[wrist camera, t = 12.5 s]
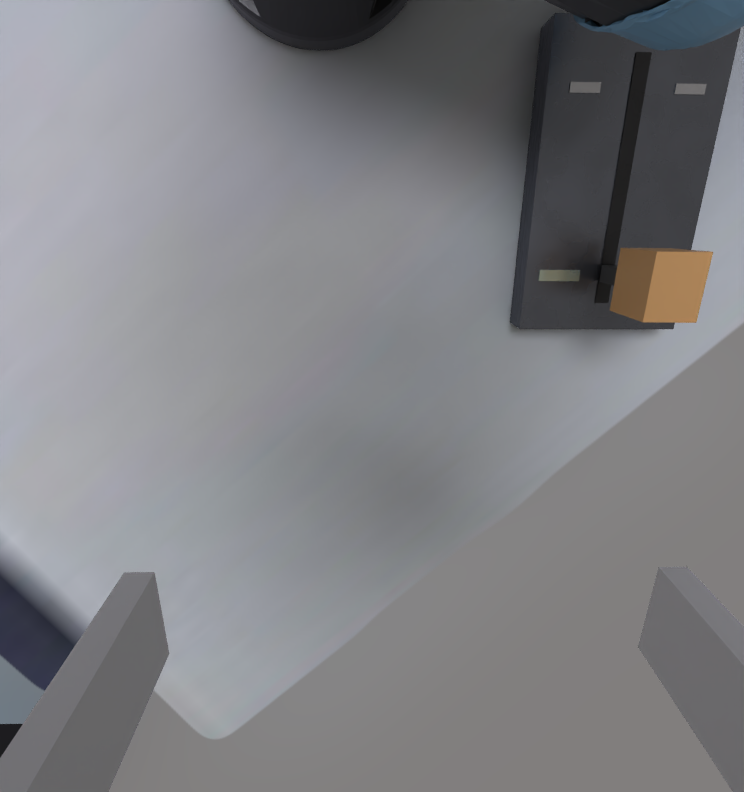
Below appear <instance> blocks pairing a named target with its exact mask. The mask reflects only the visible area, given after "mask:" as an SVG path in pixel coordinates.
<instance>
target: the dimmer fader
mask: <svg viewBox="0 0 744 792" xmlns="http://www.w3.org/2000/svg"><path fill="white" fill-rule="evenodd" d="M712 255H713V252H708V251H696V250H685V249H674V248H621V249H620V255H619V260H618V265H602V268H601V274H600V280H599V282H602V283H606V284H610V285H614V289H613V294H612V300H611V306H610V311H612V312H615V313H618V314H621V315H624V316H626V317H629V318H632V319H635V320H638V321H640V322H678V323H696V321H697V317H698V313H699V309H700V305H701V300H702V296H703V292H704V288H705V284H706V280H707V275H708V271H709V267H710V263H711V259H712Z"/></svg>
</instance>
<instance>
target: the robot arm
mask: <svg viewBox="0 0 744 792" xmlns="http://www.w3.org/2000/svg"><path fill="white" fill-rule="evenodd" d="M229 1H230V2H231V4H232V5H233V6H234V7H235V8H236V9H237V11H238V12H239V13H240V14H241V15H242V16H243V17H244V18H245V19H246V20H247V21H249V22H250V23H251V24H252V25H253V26H255V27H256V28H257V29H259V30H260V31H261V32H263V33H265V34H266V35H268V36H269V37H271V38H273V39H275V40H277V41H279V42H282V43H284V44H287V45H290V46H293V47H297V48H301V49H307V50H318V51H320V50H334V49H340V48H344V47H347V46H351V45H354V44H356V43H359V42H361V41H363V40H365V39H367V38H369V37H370V36H372V35H373V34H375V33H376V32H378V31H379V30H381V29H382V28H383V27H384V26H385V25H387V24H388V23H389V22H390V21H391V20H392V19H393V18H394V17H395V16H396V15H397V14H398V12H399V11H400V10H401V9H402V8H403V6H404V5H405V4H406V2H407V1H408V0H229ZM545 1H547V2H549V3H551V4H553V5H555V6H557V7H559V8H561V9H563V10H565V11H567V12H570V13H572V14H573V16H574V20H575V21H576V22H577V23H578V24H580V25H581V26H583V27H585V28H587V29H589V30H591V31H597V32H600V31H601V32H608V33H611V32H612V33H614V34H617V35H619V36H622V37H624V38H626V39H629V40H631V41H634V42H636V43H638V44H641V45H643V46H646V47H648V48H651V49H655V50H663V51H665V50H671V49H687V48H690V47H698V46H701V45H704V44H706V43H709V42H712V41H714V40H717V39H719V38H721V37H723V36H725V35H728V34H730V33H732V32H734V31H735V30H737V29H739V28H741V27H742V26H744V0H545ZM638 648H639V649H640V651H641V652H642V654H643V655H644V657H645V658H646V660H647V661H648V663H649V664H650V666H651V667H652V669H653V670H654V672H655V674H656V675H657V677H658V678H659V680H660V681H661V683H662V684H663V686H664V687H665V689H666V690H667V692H668V693H669V695H670V696H671V698H672V699H673V701H674V703H675V704H676V705H677V707H678V709H679V710H680V712H681V713H682V715H683V716H684V718H685V719H686V721H687V722H688V724H689V726H690V727H691V729H692V730H693V732H694V733H695V735H696V736H697V738H698V739H699V741H700V742H701V744H702V745H703V747H704V748H705V750H706V751H707V753H708V754H709V756H710V758H711V759H712V761H713V762H714V764H715V765H716V767H717V768H718V770H719V771H720V773H721V775H722V776H723V778H724V779H725V781H726V782H727V784H728V785H729V787H730V788H731V790H732V791H733V792H744V626H743V625H742V624H741V623H740V622H739V621H738V620H737V619H736V618H735V617H734V616H733V615H732V614H731V612H730V611H729V610H728V609H727V608H726V607H725V606H724V605H723V604H722V603H721V602H720V601H719V600H718V599H717V598H716V597H715V596H714V595H713V593H712V592H711V591H710V590H709V589H708V588H707V587H706V586H705V585H704V584H703V583H702V582H701V581H700V580H699V579H698V578H697V577H696V576H695V574H693V572H692V571H691V570H690V569H689V568H688V567H658V571H657V575H656V579H655V583H654V587H653V591H652V594H651V598H650V602H649V606H648V610H647V614H646V618H645V622H644V626H643V630H642V633H641V638H640V641H639V645H638ZM168 655H169V650H168V644H167V639H166V633H165V628H164V622H163V617H162V611H161V605H160V600H159V594H158V589H157V583H156V578H155V572H130V573H124V574H123V575H122V577H121V578H120V580H119V581H118V583H117V584H116V586H115V587H114V589H113V590H112V592H111V593H110V595H109V596H108V598H107V599H106V601H105V602H104V604H103V605H102V607H101V608H100V610H99V611H98V613H97V614H96V616H95V617H94V619H93V620H92V622H91V623H90V625H89V626H88V628H87V629H86V631H85V632H84V634H83V635H82V636H81V638H80V639H79V641H78V642H77V644H76V645H75V647H74V648H73V650H72V651H71V653H70V654H69V656H68V657H67V659H66V660H65V662H64V663H63V665H62V666H61V668H60V669H59V671H58V672H57V674H56V675H55V677H54V678H53V680H52V681H51V683H50V684H49V686H48V687H47V689H46V690H45V692H44V693H43V695H42V696H41V698H40V699H39V701H38V702H37V704H36V705H35V707H34V708H33V710H32V711H31V713H30V714H29V716H28V717H27V719H26V720H25V722H24V723H23V724H0V792H108V791H109V789H110V787H111V784H112V782H113V780H114V778H115V776H116V773H117V771H118V769H119V766H120V764H121V762H122V760H123V757H124V755H125V753H126V751H127V748H128V746H129V744H130V741H131V739H132V737H133V735H134V732H135V730H136V728H137V726H138V723H139V721H140V719H141V717H142V714H143V712H144V710H145V707H146V705H147V703H148V701H149V698H150V696H151V694H152V692H153V689H154V687H155V685H156V682H157V680H158V678H159V676H160V673H161V671H162V669H163V667H164V664H165V662H166V660H167V657H168Z"/></svg>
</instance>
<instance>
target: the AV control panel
mask: <svg viewBox="0 0 744 792" xmlns="http://www.w3.org/2000/svg"><path fill="white" fill-rule="evenodd" d="M740 29H741V28H739V29H737V30H735V31H734V32H732V33H730V34H728V35H725V36H723V37H721V38H719V39H717V40H714V41H712V42H709V43H706V44H704V45H701V46H698V47H690V48H687V49H671V50H665V51H663V50H655V49H651V48H648V47H646V46H643V45H641V44H638V43H636V42H634V41H631V40H629V39H626V38H624V37H622V36H619V35H617V34H614V33H612V32H611V33H608V32H601V31H600V32H597V31H591V30H589V29H587V28H585V27H583V26H581V25H580V24H578V23H577V22H576V21H575V20H574V16H573V14H572V13H555V14H554V15H553V16H552V17H551V18H550V19H549V20H548V21H547V23H546V24H545V25H544V26H543V27H542V28H541V35H540V44H539V53H538V63H537V72H536V82H535V91H534V100H533V110H532V119H531V129H530V138H529V147H528V157H527V166H526V176H525V185H524V194H523V204H522V213H521V223H520V232H519V241H518V251H517V260H516V270H515V279H514V288H513V298H512V307H511V317H510V323H512V324H513V325H515V326H516V327H518V328H519V329H673V328H674V323H675V322H640V321H638V320H635V319H632V318H629V317H626V316H624V315H621V314H618V313H615V312H612V311H610V306H611V300H612V294H613V289H614V285H610V284H606V283H602V282H599V280H600V274H601V268H602V265H618V260H619V255H620V249H621V248H674V249H685V250H691V248H692V243H693V239H694V234H695V230H696V225H697V221H698V216H699V212H700V207H701V203H702V198H703V194H704V190H705V185H706V181H707V176H708V172H709V167H710V163H711V158H712V154H713V149H714V145H715V140H716V136H717V132H718V127H719V123H720V118H721V114H722V109H723V105H724V100H725V96H726V91H727V87H728V82H729V78H730V74H731V69H732V65H733V60H734V56H735V51H736V47H737V42H738V38H739V33H740Z"/></svg>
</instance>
